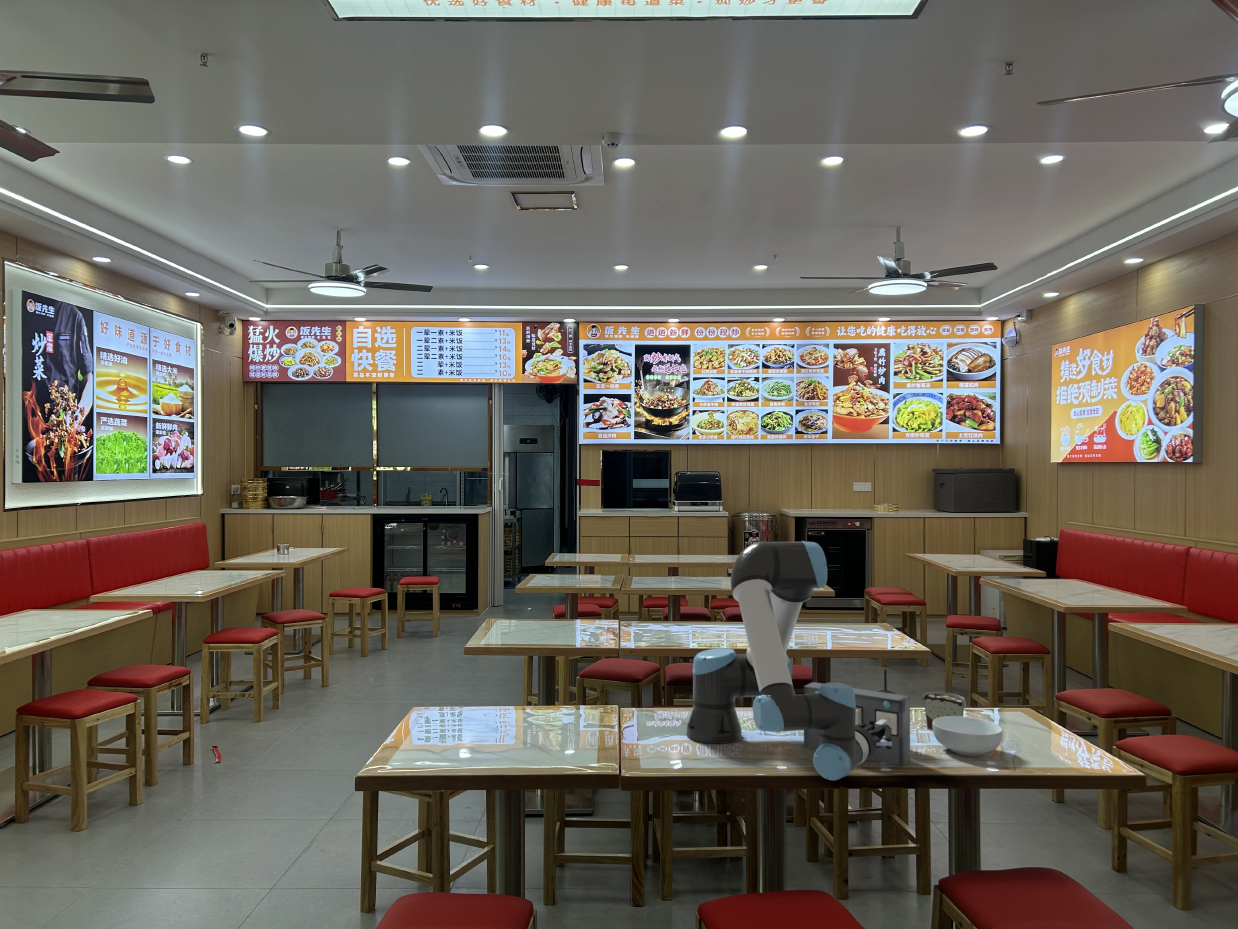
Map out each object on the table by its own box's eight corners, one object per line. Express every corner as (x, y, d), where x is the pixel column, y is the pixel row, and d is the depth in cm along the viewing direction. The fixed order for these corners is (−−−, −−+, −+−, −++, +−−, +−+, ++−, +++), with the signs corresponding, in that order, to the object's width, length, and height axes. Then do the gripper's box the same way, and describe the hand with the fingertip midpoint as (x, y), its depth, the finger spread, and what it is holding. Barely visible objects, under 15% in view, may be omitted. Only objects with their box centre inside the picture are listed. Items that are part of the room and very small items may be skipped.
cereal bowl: (931, 756, 213) (931, 729, 213) (932, 739, 228) (932, 713, 228) (1004, 765, 206) (1004, 736, 207) (1000, 746, 222) (1000, 719, 222)
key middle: (857, 730, 209) (857, 710, 209) (838, 727, 212) (838, 707, 212) (863, 727, 213) (863, 707, 213) (844, 723, 215) (844, 704, 216)
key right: (896, 735, 206) (896, 714, 206) (876, 731, 209) (876, 711, 209) (901, 731, 209) (901, 711, 209) (881, 727, 212) (881, 708, 212)
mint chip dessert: (973, 732, 235) (973, 696, 235) (965, 736, 231) (965, 700, 231) (930, 723, 244) (930, 689, 244) (921, 727, 239) (921, 693, 239)
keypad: (902, 766, 205) (902, 701, 205) (803, 747, 220) (803, 686, 220) (910, 760, 210) (909, 696, 210) (812, 741, 225) (812, 682, 225)
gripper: (825, 758, 191) (860, 734, 211) (882, 769, 184) (913, 743, 203) (825, 725, 192) (860, 704, 211) (881, 735, 184) (912, 712, 203)
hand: (886, 723), depth 207 cm, fingers closed
